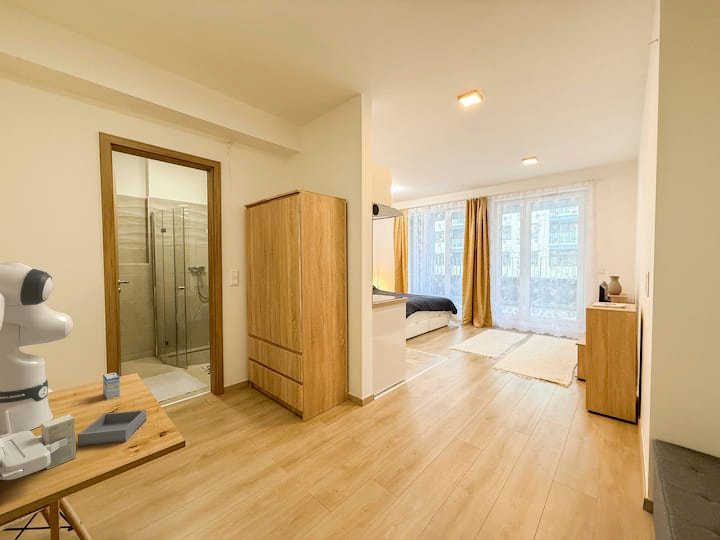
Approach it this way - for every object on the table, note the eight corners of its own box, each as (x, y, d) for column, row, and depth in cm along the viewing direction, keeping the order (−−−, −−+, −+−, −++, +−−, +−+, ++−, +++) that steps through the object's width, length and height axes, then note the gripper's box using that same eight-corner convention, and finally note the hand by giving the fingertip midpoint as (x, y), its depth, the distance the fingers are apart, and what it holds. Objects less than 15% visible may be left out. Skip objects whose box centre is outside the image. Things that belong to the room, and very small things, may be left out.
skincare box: (71, 452, 88) (71, 413, 88) (76, 458, 86) (75, 417, 85) (41, 464, 83) (40, 422, 82) (45, 470, 80) (44, 427, 80)
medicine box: (102, 394, 127) (102, 374, 126) (116, 391, 130) (115, 371, 130) (106, 400, 122) (106, 379, 121) (120, 396, 125) (120, 376, 125)
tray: (77, 447, 91) (77, 434, 91) (104, 424, 103) (104, 413, 103) (125, 442, 93) (125, 429, 93) (146, 420, 106) (146, 409, 106)
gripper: (-5, 468, 68) (75, 438, 79) (-22, 440, 78) (51, 417, 90) (-4, 495, 68) (76, 460, 80) (-21, 463, 78) (52, 437, 90)
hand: (63, 437), depth 85 cm, fingers closed on skincare box, 4 cm apart
